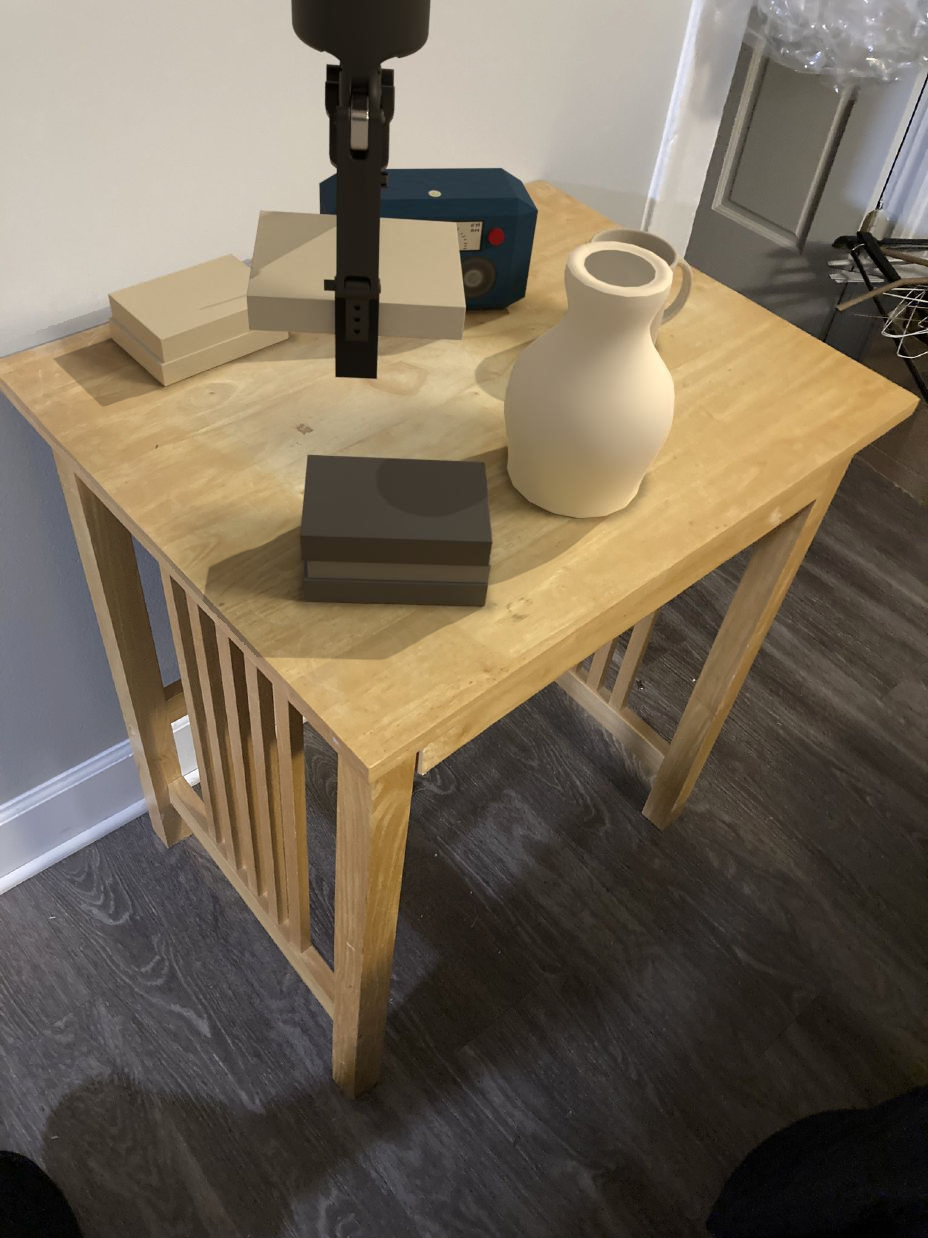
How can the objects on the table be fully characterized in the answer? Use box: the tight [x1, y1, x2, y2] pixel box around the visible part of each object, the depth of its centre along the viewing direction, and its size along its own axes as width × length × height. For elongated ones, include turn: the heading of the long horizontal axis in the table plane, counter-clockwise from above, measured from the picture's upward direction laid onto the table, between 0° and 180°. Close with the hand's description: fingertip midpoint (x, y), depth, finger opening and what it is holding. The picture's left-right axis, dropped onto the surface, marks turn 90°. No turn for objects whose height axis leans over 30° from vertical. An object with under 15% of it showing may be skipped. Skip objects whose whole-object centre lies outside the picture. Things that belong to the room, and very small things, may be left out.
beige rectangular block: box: [107, 253, 289, 387], centre depth 94 cm, size 14×10×5 cm
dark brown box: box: [299, 454, 493, 607], centre depth 75 cm, size 14×9×7 cm, turn 93°
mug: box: [588, 227, 694, 347], centre depth 99 cm, size 11×10×10 cm
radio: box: [318, 167, 539, 312], centre depth 97 cm, size 21×9×20 cm, turn 103°
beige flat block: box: [247, 209, 466, 341], centre depth 65 cm, size 14×11×2 cm
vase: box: [503, 241, 676, 519], centre depth 80 cm, size 14×14×20 cm
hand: (357, 325), depth 67 cm, fingers closed on beige flat block, 11 cm apart
